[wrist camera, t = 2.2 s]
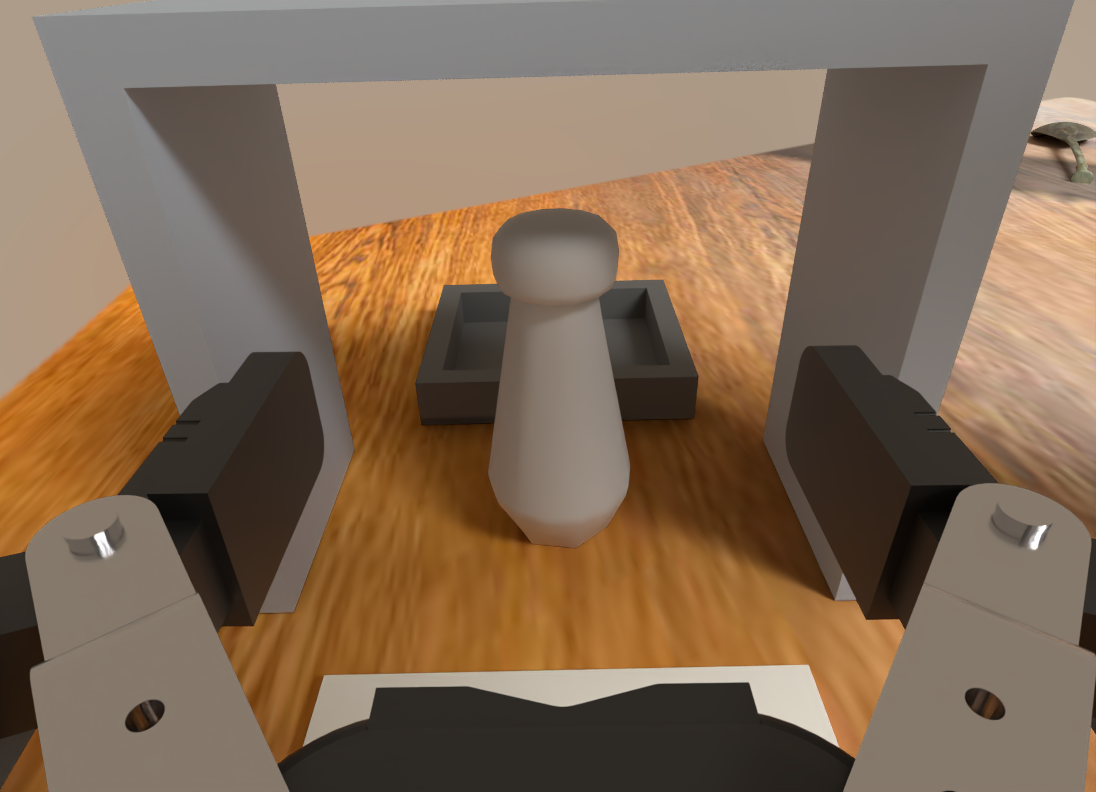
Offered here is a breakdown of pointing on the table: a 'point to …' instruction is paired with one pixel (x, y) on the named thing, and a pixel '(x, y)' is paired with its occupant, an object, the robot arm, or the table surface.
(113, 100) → the gate
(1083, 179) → the soupspoon
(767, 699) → the pad
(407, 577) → the table surface
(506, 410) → the salt shaker
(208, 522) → the robot arm
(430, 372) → the pit box
